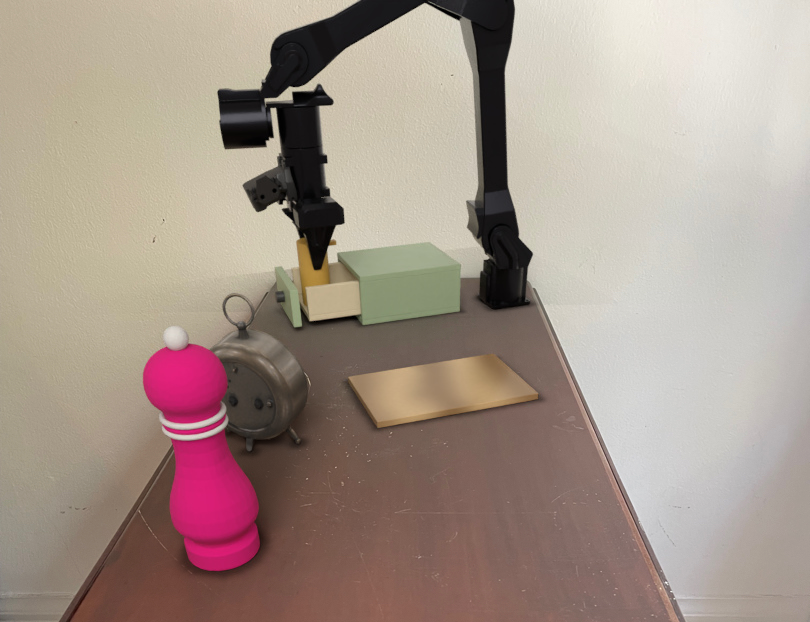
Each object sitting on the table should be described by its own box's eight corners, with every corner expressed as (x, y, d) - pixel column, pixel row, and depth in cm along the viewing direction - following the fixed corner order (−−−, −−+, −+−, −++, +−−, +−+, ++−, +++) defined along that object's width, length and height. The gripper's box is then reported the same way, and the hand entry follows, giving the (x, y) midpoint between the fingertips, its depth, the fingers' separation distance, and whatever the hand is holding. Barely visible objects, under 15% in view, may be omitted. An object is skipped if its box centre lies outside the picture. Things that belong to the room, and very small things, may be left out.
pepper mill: (247, 580, 58) (198, 348, 46) (167, 570, 59) (99, 342, 47) (277, 529, 63) (240, 311, 51) (203, 521, 65) (150, 306, 53)
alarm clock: (315, 438, 77) (298, 289, 67) (294, 462, 73) (272, 307, 63) (229, 424, 80) (200, 280, 70) (203, 447, 76) (169, 297, 66)
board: (493, 358, 93) (493, 353, 92) (538, 399, 83) (538, 393, 83) (348, 382, 88) (347, 376, 88) (377, 428, 78) (377, 421, 78)
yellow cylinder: (336, 295, 109) (331, 234, 104) (343, 303, 106) (338, 241, 101) (300, 299, 108) (293, 238, 103) (306, 308, 105) (299, 245, 99)
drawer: (286, 328, 101) (281, 291, 98) (271, 302, 111) (266, 267, 108) (388, 314, 105) (387, 278, 102) (366, 289, 114) (364, 256, 111)
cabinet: (362, 325, 104) (359, 276, 100) (340, 297, 114) (336, 252, 110) (459, 311, 108) (461, 264, 104) (429, 285, 118) (429, 241, 114)
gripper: (232, 140, 99) (250, 255, 109) (252, 161, 85) (270, 290, 95) (309, 135, 102) (320, 247, 111) (340, 154, 88) (349, 280, 97)
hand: (313, 265), depth 103 cm, fingers closed on yellow cylinder, 4 cm apart
